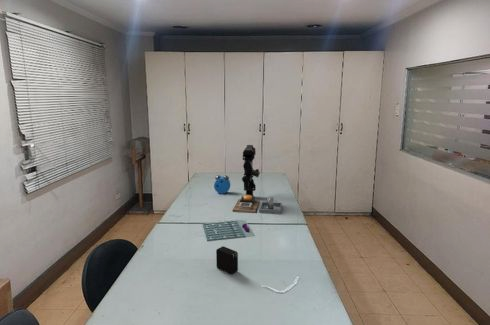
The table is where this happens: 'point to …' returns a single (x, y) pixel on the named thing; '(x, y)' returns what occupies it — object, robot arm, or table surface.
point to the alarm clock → (222, 184)
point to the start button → (247, 197)
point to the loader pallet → (246, 205)
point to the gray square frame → (270, 209)
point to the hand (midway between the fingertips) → (248, 187)
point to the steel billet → (270, 203)
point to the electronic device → (227, 260)
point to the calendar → (227, 230)
